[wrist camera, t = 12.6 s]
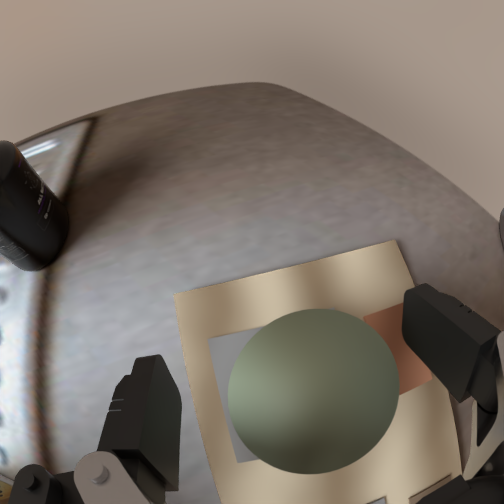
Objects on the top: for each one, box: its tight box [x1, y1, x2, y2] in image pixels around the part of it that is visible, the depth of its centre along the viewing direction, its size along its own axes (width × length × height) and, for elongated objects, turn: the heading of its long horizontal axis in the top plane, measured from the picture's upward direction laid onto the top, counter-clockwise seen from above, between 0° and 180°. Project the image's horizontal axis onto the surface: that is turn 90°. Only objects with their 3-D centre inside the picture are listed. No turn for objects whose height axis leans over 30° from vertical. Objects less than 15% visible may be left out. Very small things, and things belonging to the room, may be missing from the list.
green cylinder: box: [228, 309, 400, 474], centre depth 10 cm, size 4×4×8 cm
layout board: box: [174, 240, 462, 504], centre depth 12 cm, size 14×24×1 cm, turn 13°
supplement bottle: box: [0, 141, 69, 271], centre depth 15 cm, size 7×7×12 cm
